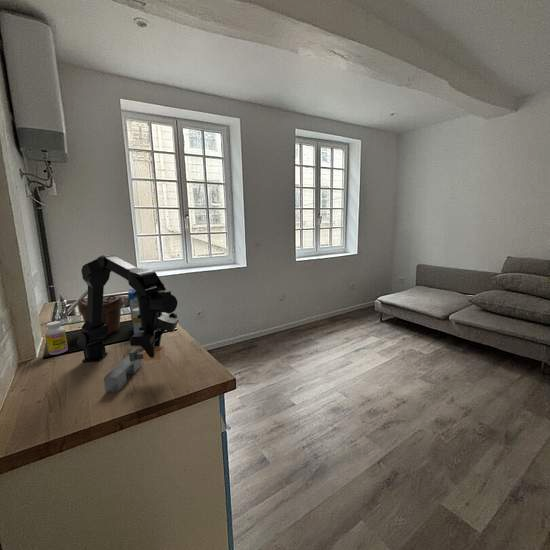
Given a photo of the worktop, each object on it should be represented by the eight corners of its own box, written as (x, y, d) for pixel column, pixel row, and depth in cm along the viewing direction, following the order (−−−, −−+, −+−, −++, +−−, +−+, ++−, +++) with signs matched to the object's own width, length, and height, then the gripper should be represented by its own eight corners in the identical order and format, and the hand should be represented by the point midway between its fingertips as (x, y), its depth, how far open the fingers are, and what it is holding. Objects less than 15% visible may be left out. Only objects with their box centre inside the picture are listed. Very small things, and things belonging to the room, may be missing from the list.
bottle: (132, 343, 126) (127, 310, 123) (144, 337, 132) (140, 305, 130) (144, 344, 123) (139, 311, 121) (156, 338, 130) (152, 307, 127)
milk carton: (134, 327, 146) (129, 289, 142) (147, 325, 148) (142, 287, 145) (133, 334, 137) (127, 293, 133) (147, 331, 139) (142, 291, 136)
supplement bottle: (53, 356, 116) (46, 326, 114) (46, 353, 119) (40, 324, 117) (71, 350, 121) (66, 321, 119) (64, 347, 125) (59, 319, 123)
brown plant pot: (135, 326, 147) (129, 292, 143) (94, 341, 130) (86, 303, 127) (116, 322, 156) (111, 290, 153) (76, 335, 140) (68, 300, 136)
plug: (129, 361, 93) (128, 353, 93) (135, 356, 97) (134, 347, 97) (160, 359, 94) (159, 351, 93) (164, 354, 98) (163, 345, 97)
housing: (105, 392, 89) (103, 378, 88) (130, 366, 104) (128, 354, 103) (118, 391, 89) (116, 377, 88) (141, 366, 104) (139, 353, 104)
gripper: (163, 317, 83) (169, 367, 86) (182, 300, 102) (186, 341, 105) (125, 319, 83) (132, 369, 86) (150, 302, 102) (156, 343, 104)
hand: (154, 354), depth 95 cm, fingers closed on plug, 4 cm apart
